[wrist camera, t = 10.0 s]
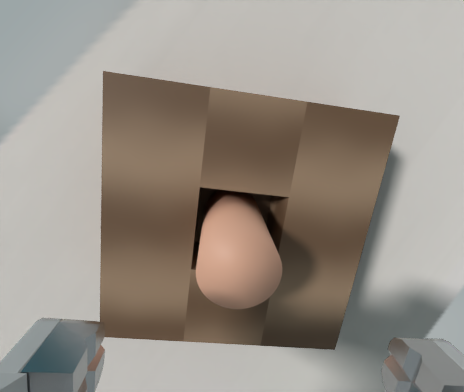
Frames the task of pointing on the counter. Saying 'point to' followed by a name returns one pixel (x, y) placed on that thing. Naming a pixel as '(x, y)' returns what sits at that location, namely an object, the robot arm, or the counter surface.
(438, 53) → the counter surface
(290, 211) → the bore block
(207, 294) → the pin
